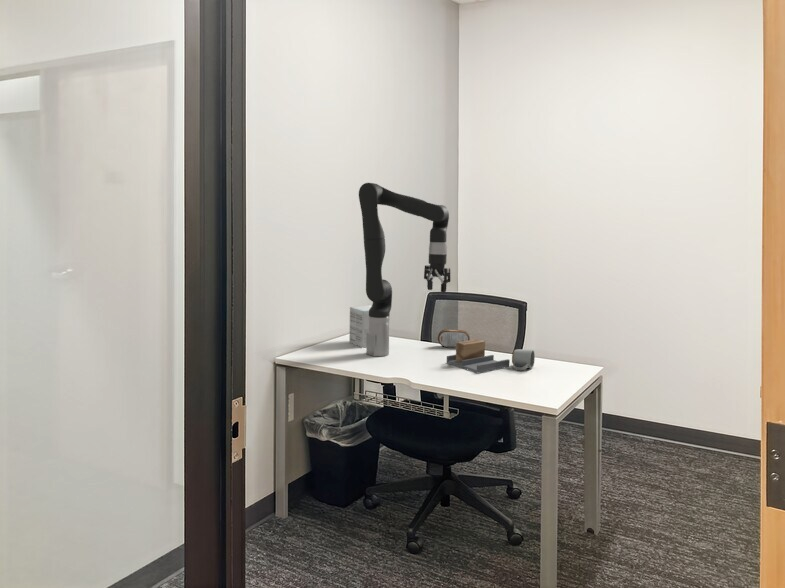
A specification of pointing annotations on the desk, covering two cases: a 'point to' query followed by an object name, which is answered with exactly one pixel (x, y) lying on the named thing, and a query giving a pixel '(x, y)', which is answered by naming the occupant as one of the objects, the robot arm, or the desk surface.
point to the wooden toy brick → (470, 349)
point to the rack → (479, 363)
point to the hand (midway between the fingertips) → (436, 291)
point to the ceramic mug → (523, 359)
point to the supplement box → (359, 325)
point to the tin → (452, 337)
